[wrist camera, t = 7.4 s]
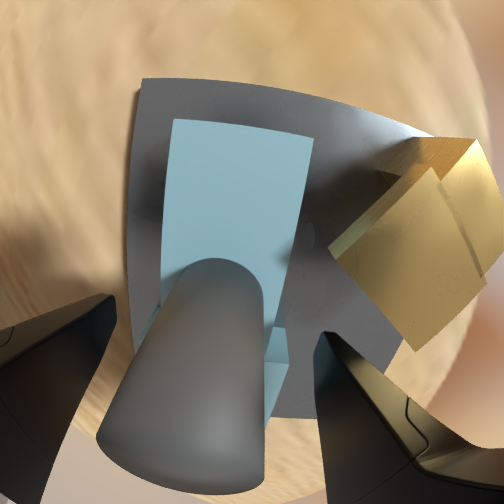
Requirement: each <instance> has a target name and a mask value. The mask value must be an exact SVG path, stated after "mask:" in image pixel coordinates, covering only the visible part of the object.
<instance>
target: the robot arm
mask: <svg viewBox="0 0 504 504" xmlns="http://www.w3.org/2000/svg"><path fill="white" fill-rule="evenodd" d="M116 322H117V312H116V303H115V297H114V296H113V295H111V294H107V293H99V294H97V295H94V296H91V297H89V298H86V299H83V300H80V301H78V302H75V303H72V304H70V305H67V306H64V307H62V308H59V309H56V310H54V311H51V312H48V313H46V314H43V315H40V316H38V317H35V318H32V319H30V320H27V321H24V322H22V323H19V324H17V325H15V326H11V327H9V328H6V329H3V330H1V331H0V504H6V503H7V501H8V499H10V500H12V501H13V502H15V503H16V504H40V502H41V498H42V495H43V492H44V490H45V487H46V483H47V481H48V478H49V475H50V473H51V470H52V467H53V464H54V462H55V459H56V457H57V454H58V451H59V449H60V447H61V444H62V442H63V439H64V437H65V435H66V433H67V430H68V428H69V426H70V423H71V421H72V419H73V417H74V415H75V412H76V410H77V408H78V406H79V404H80V402H81V400H82V398H83V396H84V394H85V391H86V389H87V387H88V385H89V383H90V381H91V379H92V377H93V376H94V374H95V372H96V370H97V368H98V366H99V364H100V362H101V360H102V357H103V355H104V352H105V350H106V347H107V345H108V342H109V340H110V337H111V335H112V332H113V330H114V328H115V325H116ZM313 371H314V399H315V407H316V414H317V421H318V428H319V435H320V443H321V450H322V458H323V467H324V475H325V484H326V493H327V503H328V504H504V448H495V449H487V448H481V447H477V446H475V445H473V444H471V443H469V442H468V441H466V440H465V439H463V438H462V437H461V436H459V435H458V434H456V433H455V432H453V431H452V430H450V429H449V428H448V427H446V426H445V425H444V424H442V423H441V422H440V421H438V420H437V419H435V418H434V417H433V416H431V415H430V414H429V413H428V412H427V411H425V410H424V409H423V408H422V407H420V406H419V405H418V404H417V403H416V402H415V401H413V400H412V399H411V398H410V397H408V395H407V394H405V393H404V392H403V391H402V390H401V389H400V388H399V387H397V386H396V385H395V384H394V383H393V382H392V381H390V380H389V379H388V378H387V377H386V376H385V375H384V374H382V373H381V372H380V371H379V370H378V369H377V368H376V367H375V366H373V365H372V364H371V363H370V362H369V361H368V360H367V359H365V358H364V357H363V356H362V355H361V354H360V353H359V352H357V351H356V350H355V349H354V348H353V347H352V346H351V345H349V344H348V343H347V342H346V341H345V340H344V339H343V338H342V337H340V336H339V335H338V334H337V333H336V332H330V331H323V332H322V333H321V334H320V337H319V340H318V342H317V345H316V347H315V350H314V354H313Z"/></svg>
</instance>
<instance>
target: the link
mask: <svg viewBox="0 0 504 504" xmlns="http://www.w3.org/2000/svg"><path fill="white" fill-rule="evenodd" d="M313 141H314V138H310V137H305V136H301V135H296V134H291V133H286V132H280V131H275V130H269V129H263V128H257V127H250V126H243V125H236V124H228V123H219V122H210V121H199V120H186V119H174V121H173V128H172V135H171V142H170V149H169V158H168V166H167V176H166V186H165V197H164V210H163V226H162V246H161V291H160V297H161V308H159V307H156V308H155V310H154V312H153V313H152V315H151V317H150V318H149V320H148V322H147V324H146V325H145V327H144V329H143V331H142V332H141V334H140V336H139V338H138V342H139V349H138V351H137V353H136V355H135V356H134V358H133V360H132V362H131V364H130V366H129V368H128V370H127V372H126V374H125V376H124V378H123V380H122V382H121V384H120V386H119V388H118V390H117V392H116V394H115V396H114V398H113V400H112V402H111V404H110V406H109V408H108V410H107V413H106V415H105V417H104V419H103V421H102V423H101V425H100V428H99V430H98V432H97V434H96V440H97V443H98V445H99V447H100V448H101V450H102V451H103V452H104V453H105V455H106V456H107V457H109V458H110V459H111V460H112V461H113V462H115V463H116V464H117V465H119V466H120V467H121V468H123V469H125V470H126V471H128V472H130V473H131V474H133V475H135V476H137V477H139V478H141V479H144V480H146V481H148V482H151V483H154V484H156V485H160V486H162V487H165V488H169V489H173V490H177V491H181V492H187V493H193V494H202V495H229V494H237V493H242V492H246V491H249V490H252V489H254V488H256V487H257V486H259V485H260V484H261V483H262V482H263V480H264V451H265V428H266V425H267V423H268V420H269V418H270V415H271V413H272V410H273V408H274V405H275V402H276V400H277V397H278V394H279V392H280V389H281V386H282V384H283V381H284V378H285V375H286V373H287V370H288V367H289V356H288V348H287V339H286V330H285V328H279V327H273V325H274V321H275V317H276V313H277V309H278V305H279V301H280V297H281V293H282V289H283V285H284V281H285V276H286V272H287V268H288V263H289V259H290V255H291V250H292V246H293V241H294V237H295V232H296V227H297V223H298V218H299V213H300V208H301V204H302V199H303V194H304V189H305V184H306V179H307V173H308V168H309V163H310V158H311V152H312V147H313Z"/></svg>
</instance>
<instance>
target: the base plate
mask: <svg viewBox="0 0 504 504" xmlns="http://www.w3.org/2000/svg"><path fill="white" fill-rule="evenodd" d="M174 119H186V120H199V121H210V122H219V123H228V124H236V125H243V126H250V127H257V128H263V129H269V130H275V131H280V132H286V133H291V134H296V135H301V136H305V137H310V138H314V141H313V147H312V152H311V158H310V163H309V168H308V173H307V179H306V184H305V189H304V194H303V199H302V204H301V208H300V213H299V218H298V223H297V227H296V232H295V237H294V241H293V246H292V250H291V255H290V259H289V263H288V268H287V272H286V276H285V281H284V285H283V289H282V293H281V297H280V301H279V305H278V309H277V313H276V317H275V321H274V325H273V327H279V328H285V330H286V339H287V348H288V356H289V367H288V370H287V373H286V375H285V378H284V381H283V384H282V386H281V389H280V392H279V394H278V397H277V400H276V402H275V405H274V408H273V410H272V413H271V415H270V417H280V418H301V419H317V414H316V407H315V399H314V371H313V354H314V350H315V347H316V345H317V342H318V340H319V337H320V334H321V333H322V332H323V331H330V332H336V333H337V334H338V335H339V336H340V337H342V338H343V339H344V340H345V341H346V342H347V343H348V344H349V345H351V346H352V347H353V348H354V349H355V350H356V351H357V352H359V353H360V354H361V355H362V356H363V357H364V358H365V359H367V360H368V361H369V362H370V363H371V364H372V365H373V366H375V367H376V368H377V369H378V370H379V371H380V372H381V373H382V374H384V372H385V371H386V369H387V367H388V366H389V364H390V362H391V360H392V359H393V357H394V355H395V353H396V351H397V349H398V348H399V346H400V344H401V342H402V340H403V338H404V339H405V340H406V342H407V343H408V344H409V345H410V346H411V348H412V349H413V350H414V351H415V352H416V351H418V350H419V349H420V348H421V347H422V346H424V345H425V344H426V343H427V342H428V341H430V340H431V339H432V338H433V337H434V336H435V335H436V334H438V333H439V332H440V331H441V330H442V329H443V328H444V327H445V326H446V325H447V324H448V323H449V322H451V321H452V320H453V319H454V318H455V317H456V316H457V315H458V314H459V313H460V312H461V311H462V310H463V309H464V308H465V307H466V306H467V305H468V304H469V303H470V302H471V300H472V299H473V298H474V297H475V296H476V295H477V294H478V293H479V292H480V291H481V290H482V289H483V287H484V286H485V285H486V284H487V283H486V280H485V277H484V274H485V273H486V272H487V271H488V269H489V268H490V267H491V266H492V265H493V263H494V262H495V261H496V260H497V259H498V257H499V256H500V255H501V254H502V252H503V251H504V202H503V199H502V196H501V193H500V191H499V188H498V185H497V183H496V180H495V178H494V176H493V173H492V171H491V169H490V166H489V164H488V162H487V160H486V158H485V155H484V153H483V151H482V149H481V147H480V145H479V143H478V141H477V139H465V138H448V137H433V136H431V135H429V134H427V133H424V132H422V131H420V130H418V129H415V128H413V127H410V126H408V125H405V124H403V123H400V122H398V121H395V120H392V119H390V118H387V117H384V116H381V115H379V114H376V113H373V112H370V111H367V110H364V109H360V108H357V107H354V106H351V105H347V104H344V103H340V102H336V101H333V100H329V99H325V98H321V97H317V96H313V95H308V94H304V93H299V92H294V91H289V90H284V89H279V88H273V87H267V86H261V85H254V84H246V83H238V82H229V81H218V80H205V79H185V78H143V79H142V84H141V89H140V94H139V100H138V106H137V112H136V119H135V126H134V133H133V141H132V150H131V160H130V171H129V185H128V205H127V275H128V294H129V308H130V319H131V329H132V338H133V347H134V354H135V355H136V353H137V351H138V349H139V342H138V338H139V336H140V334H141V332H142V331H143V329H144V327H145V325H146V324H147V322H148V320H149V318H150V317H151V315H152V313H153V312H154V310H155V308H156V307H159V308H161V297H160V291H161V246H162V226H163V210H164V197H165V186H166V176H167V166H168V158H169V149H170V142H171V135H172V128H173V121H174Z"/></svg>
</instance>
